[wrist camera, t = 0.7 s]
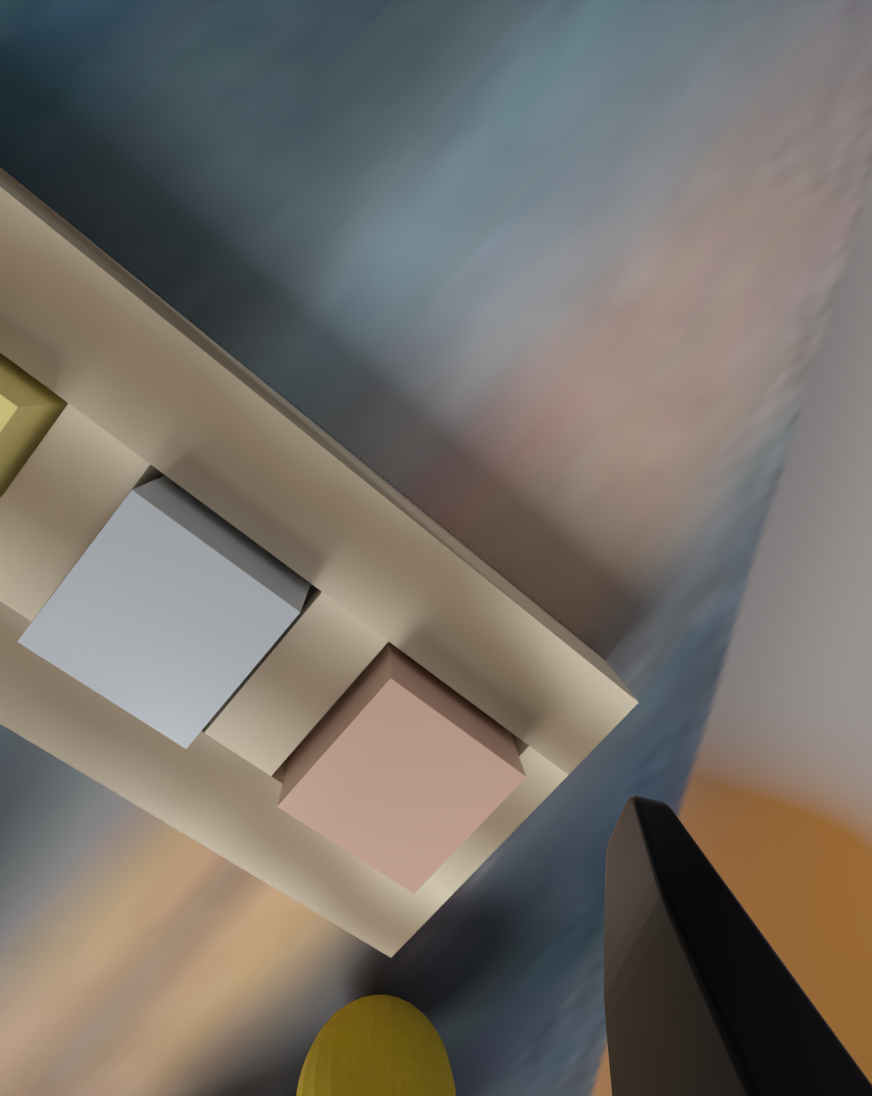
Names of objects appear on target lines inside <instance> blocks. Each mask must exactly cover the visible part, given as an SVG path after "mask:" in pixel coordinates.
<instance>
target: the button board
mask: <svg viewBox="0 0 872 1096" xmlns="http://www.w3.org/2000/svg"><path fill="white" fill-rule="evenodd" d="M0 353H2V354H3V355H4V356H6V357H7V358H8V359H10V360H11V361H12V362H14V363H15V364H16V365H18V366H19V367H20V368H22V369H23V370H24V371H26V372H27V373H28V374H30V375H31V376H32V377H34V378H35V379H37V380H38V381H39V382H41V383H42V384H43V385H45V386H46V387H47V388H49V389H50V390H51V391H53V392H54V393H55V394H57V395H58V396H59V397H61V398H62V399H63V400H65V401H66V402H67V403H68V405H67V406H66V408H65V409H64V410H63V412H62V413H61V415H60V416H59V417H58V419H57V420H56V421H55V423H54V424H53V426H52V427H51V428H50V430H49V431H48V433H47V434H46V435H45V437H44V438H43V440H42V441H41V442H40V444H39V445H38V447H37V448H36V449H35V451H34V452H33V454H32V455H31V456H30V458H29V459H28V461H27V462H26V463H25V465H24V466H23V468H22V469H21V470H20V472H19V473H18V475H17V476H16V477H15V479H14V480H13V481H12V483H11V484H10V486H9V487H8V488H7V490H6V491H5V493H4V494H3V495H2V497H1V498H0V724H1V725H3V726H5V727H6V728H8V729H10V730H11V731H13V732H15V733H16V734H18V735H20V736H21V737H23V738H25V739H26V740H28V741H30V742H31V743H33V744H35V745H36V746H38V747H40V748H41V749H43V750H45V751H46V752H48V753H50V754H51V755H53V756H55V757H56V758H58V759H60V760H61V761H63V762H65V763H66V764H68V765H70V766H71V767H73V768H75V769H76V770H78V771H80V772H81V773H83V774H85V775H86V776H88V777H90V778H91V779H93V780H95V781H97V782H98V783H100V784H102V785H103V786H105V787H107V788H108V789H110V790H112V791H113V792H115V793H117V794H118V795H120V796H122V797H123V798H125V799H127V800H128V801H130V802H132V803H133V804H135V805H137V806H138V807H140V808H142V809H143V810H145V811H147V812H148V813H150V814H152V815H153V816H155V817H157V818H158V819H160V820H162V821H163V822H165V823H167V824H168V825H170V826H172V827H173V828H175V829H177V830H178V831H180V832H182V833H183V834H185V835H187V836H188V837H190V838H192V839H193V840H195V841H197V842H198V843H200V844H202V845H203V846H205V847H207V848H208V849H210V850H212V851H213V852H215V853H217V854H218V855H220V856H222V857H223V858H225V859H227V860H228V861H230V862H232V863H233V864H235V865H237V866H239V867H240V868H242V869H244V870H245V871H247V872H249V873H250V874H252V875H254V876H255V877H257V878H259V879H260V880H262V881H264V882H265V883H267V884H269V885H270V886H272V887H274V888H275V889H277V890H279V891H280V892H282V893H284V894H285V895H287V896H289V897H290V898H292V899H294V900H295V901H297V902H299V903H300V904H302V905H304V906H305V907H307V908H309V909H310V910H312V911H314V912H315V913H317V914H319V915H320V916H322V917H324V918H325V919H327V920H329V921H330V922H332V923H334V924H335V925H337V926H339V927H340V928H342V929H344V930H345V931H347V932H349V933H350V934H352V935H354V936H355V937H357V938H359V939H360V940H362V941H364V942H365V943H367V944H369V945H370V946H372V947H374V948H375V949H377V950H379V951H380V952H382V953H384V954H386V955H387V956H389V957H392V956H393V955H394V954H395V953H396V952H397V951H398V950H399V949H400V948H401V947H402V946H403V945H404V944H405V943H406V942H407V941H408V940H409V939H410V938H411V937H412V936H413V935H414V934H415V933H416V932H417V931H418V930H419V929H420V927H421V926H422V925H423V924H424V923H425V922H426V921H427V920H428V919H429V918H430V917H431V916H432V915H433V914H434V913H435V912H436V911H437V910H438V909H439V908H440V907H441V906H442V905H443V904H444V903H445V902H446V901H447V900H448V899H449V898H450V897H451V896H452V894H453V893H454V892H455V891H456V890H457V889H458V888H459V887H460V886H461V885H462V884H463V883H464V882H465V881H466V880H467V879H468V878H469V877H470V876H471V875H472V874H473V873H474V872H475V871H476V870H477V869H478V868H479V867H480V866H481V865H482V864H483V862H484V861H485V860H486V859H487V858H488V857H489V856H490V855H491V854H492V853H493V852H494V851H495V850H496V849H497V848H498V847H499V846H500V845H501V844H502V843H503V842H504V841H505V840H506V839H507V838H508V837H509V836H510V835H511V834H512V833H513V832H514V831H515V829H516V828H517V827H518V826H519V825H520V824H521V823H522V822H523V821H524V820H525V819H526V818H527V817H528V816H529V815H530V814H531V813H532V812H533V811H534V810H535V809H536V808H537V807H538V806H539V805H540V804H541V803H542V802H543V801H544V800H545V799H546V797H547V796H548V795H549V794H550V793H551V792H552V791H553V790H554V789H555V788H556V787H557V786H558V785H559V784H560V783H561V782H562V781H563V780H564V779H565V778H566V777H567V776H568V775H569V774H570V773H571V772H572V771H573V770H574V769H575V768H576V767H577V765H578V764H579V763H580V762H581V761H582V760H583V759H584V758H585V757H586V756H587V755H588V754H589V753H590V752H591V751H592V750H593V749H594V748H595V747H596V746H597V745H598V744H599V743H600V742H601V741H602V740H603V739H604V738H605V737H606V736H607V735H608V734H609V732H610V731H611V730H612V729H613V728H614V727H615V726H616V725H617V724H618V723H619V722H620V721H621V720H622V719H623V718H624V717H625V716H626V715H627V714H628V713H629V712H630V711H631V710H632V709H633V708H634V707H635V706H636V705H637V704H638V703H639V702H638V701H637V700H636V698H635V697H634V696H633V695H632V693H631V692H630V691H629V690H628V688H627V687H626V686H625V685H624V683H623V682H622V681H621V680H620V678H619V677H618V676H617V674H616V673H615V672H614V671H613V669H612V668H611V667H610V666H609V664H608V663H607V662H606V661H605V660H604V659H603V658H602V657H600V656H599V655H598V654H597V653H596V652H594V651H593V650H592V649H591V648H589V647H588V646H587V645H586V644H584V643H583V642H582V641H581V640H580V639H578V638H577V637H576V636H575V635H573V634H572V633H571V632H570V631H569V630H567V629H566V628H565V627H564V626H562V625H561V624H560V623H559V622H558V621H556V620H555V619H554V618H553V617H551V616H550V615H549V614H548V613H546V612H545V611H544V610H543V609H542V608H540V607H539V606H538V605H537V604H535V603H534V602H533V601H532V600H531V599H529V598H528V597H527V596H526V595H524V594H523V593H522V592H521V591H520V590H518V589H517V588H516V587H515V586H513V585H512V584H511V583H510V582H508V581H507V580H506V579H505V578H504V577H502V576H501V575H500V574H499V573H497V572H496V571H495V570H494V569H493V568H491V567H490V566H489V565H488V564H486V563H485V562H484V561H483V560H482V559H480V558H479V557H478V556H477V555H475V554H474V553H473V552H472V551H470V550H469V549H468V548H467V547H466V546H464V545H463V544H462V543H461V542H459V541H458V540H457V539H456V538H455V537H453V536H452V535H451V534H450V533H448V532H447V531H446V530H445V529H444V528H442V527H441V526H440V525H439V524H437V523H436V522H435V521H434V520H432V519H431V518H430V517H429V516H428V515H426V514H425V513H424V512H423V511H421V510H420V509H419V508H418V507H417V506H415V505H414V504H413V503H412V502H410V501H409V500H408V499H407V498H406V497H404V496H403V495H402V494H401V493H399V492H398V491H397V490H396V489H394V488H393V487H392V486H391V485H390V484H388V483H387V482H386V481H385V480H383V479H382V478H381V477H380V476H379V475H377V474H376V473H375V472H374V471H372V470H371V469H370V468H369V467H368V466H366V465H365V464H364V463H363V462H361V461H360V460H359V459H358V458H356V457H355V456H354V455H353V454H352V453H350V452H349V451H348V450H347V449H345V448H344V447H343V446H342V445H341V444H339V443H338V442H337V441H336V440H334V439H333V438H332V437H331V436H330V435H328V434H327V433H326V432H325V431H323V430H322V429H321V428H320V427H318V426H317V425H316V424H315V423H314V422H312V421H311V420H310V419H309V418H307V417H306V416H305V415H304V414H303V413H301V412H300V411H299V410H298V409H296V408H295V407H294V406H293V405H291V404H290V403H289V402H288V401H287V400H285V399H284V398H283V397H282V396H280V395H279V394H278V393H277V392H276V391H274V390H273V389H272V388H271V387H269V386H268V385H267V384H266V383H265V382H263V381H262V380H261V379H260V378H258V377H257V376H256V375H255V374H253V373H252V372H251V371H250V370H249V369H247V368H246V367H245V366H244V365H242V364H241V363H240V362H239V361H238V360H236V359H235V358H234V357H233V356H231V355H230V354H229V353H228V352H227V351H225V350H224V349H223V348H222V347H220V346H219V345H218V344H217V343H215V342H214V341H213V340H212V339H211V338H209V337H208V336H207V335H206V334H204V333H203V332H202V331H201V330H200V329H198V328H197V327H196V326H195V325H193V324H192V323H191V322H190V321H189V320H187V319H186V318H185V317H184V316H182V315H181V314H180V313H179V312H177V311H176V310H175V309H174V308H173V307H171V306H170V305H169V304H168V303H166V302H165V301H164V300H163V299H162V298H160V297H159V296H158V295H157V294H155V293H154V292H153V291H152V290H151V289H149V288H148V287H147V286H146V285H144V284H143V283H142V282H141V281H139V280H138V279H137V278H136V277H135V276H133V275H132V274H131V273H130V272H128V271H127V270H126V269H125V268H124V267H122V266H121V265H120V264H119V263H117V262H116V261H115V260H114V259H113V258H111V257H110V256H109V255H108V254H106V253H105V252H104V251H103V250H101V249H100V248H99V247H98V246H97V245H95V244H94V243H93V242H92V241H90V240H89V239H88V238H87V237H86V236H84V235H83V234H82V233H81V232H79V231H78V230H77V229H76V228H75V227H73V226H72V225H71V224H70V223H68V222H67V221H66V220H65V219H63V218H62V217H61V216H60V215H59V214H57V213H56V212H55V211H54V210H52V209H51V208H50V207H49V206H48V205H46V204H45V203H44V202H43V201H41V200H40V199H39V198H38V197H37V196H35V195H34V194H33V193H32V192H30V191H29V190H28V189H27V188H25V187H24V186H23V185H22V184H21V183H19V182H18V181H17V180H16V179H14V178H13V177H12V176H11V175H10V174H8V173H7V172H6V171H5V170H3V169H2V168H1V167H0ZM165 475H166V476H167V477H168V478H170V479H171V480H172V481H174V482H175V483H176V484H178V485H179V486H180V487H182V488H183V489H184V490H186V491H187V492H189V493H190V494H191V495H193V496H194V497H195V498H197V499H198V500H199V501H201V502H202V503H203V504H205V505H206V506H207V507H209V508H210V509H211V510H213V511H214V512H215V513H217V514H218V515H219V516H221V517H222V518H224V519H225V520H226V521H228V522H229V523H230V524H232V525H233V526H234V527H236V528H237V529H238V530H240V531H241V532H242V533H244V534H245V535H246V536H248V537H249V538H250V539H252V540H253V541H254V542H256V543H257V544H258V545H260V546H261V547H263V548H264V549H265V550H267V551H268V552H269V553H271V554H272V555H273V556H275V557H276V558H277V559H279V560H280V561H281V562H283V563H284V564H285V565H287V566H288V567H289V568H291V569H292V570H293V571H295V572H296V573H297V574H299V575H300V576H302V577H303V578H304V579H306V580H307V581H308V582H310V583H311V584H312V586H311V587H310V588H309V590H308V592H307V595H306V598H305V601H304V604H303V606H302V609H301V612H300V613H299V615H298V616H297V617H296V618H295V619H294V621H293V622H292V623H291V624H290V625H289V627H288V628H287V629H286V630H285V631H284V633H283V634H282V635H281V636H280V637H279V639H278V640H277V641H276V642H275V643H274V645H273V646H272V647H271V648H270V649H269V651H268V652H267V653H266V654H265V655H264V656H263V658H262V659H261V660H260V661H259V662H258V664H257V665H256V666H255V667H254V668H253V670H252V671H251V672H250V673H249V674H248V676H247V677H246V678H245V679H244V680H243V682H242V683H241V684H240V685H239V686H238V688H237V689H236V690H235V691H234V692H233V694H232V695H231V696H230V697H229V698H228V700H227V701H226V702H225V703H224V704H223V706H222V707H221V708H220V709H219V710H218V712H217V713H216V714H215V715H214V716H213V717H212V719H211V720H210V721H209V722H208V723H207V725H206V726H205V727H204V728H203V729H202V731H201V732H200V733H199V734H198V735H197V737H196V738H195V739H194V740H193V741H192V743H191V744H190V745H189V746H188V747H187V749H185V748H184V747H182V746H181V745H179V744H177V743H176V742H174V741H173V740H171V739H169V738H168V737H166V736H165V735H163V734H162V733H160V732H158V731H157V730H155V729H154V728H152V727H151V726H149V725H147V724H146V723H144V722H143V721H141V720H140V719H138V718H136V717H135V716H133V715H132V714H130V713H129V712H127V711H125V710H124V709H122V708H121V707H119V706H117V705H116V704H114V703H113V702H111V701H110V700H108V699H106V698H105V697H103V696H102V695H100V694H99V693H97V692H95V691H94V690H92V689H91V688H89V687H88V686H86V685H84V684H83V683H81V682H80V681H78V680H77V679H75V678H73V677H72V676H70V675H69V674H67V673H66V672H64V671H62V670H61V669H59V668H58V667H56V666H54V665H53V664H51V663H50V662H48V661H47V660H45V659H43V658H42V657H40V656H39V655H37V654H36V653H34V652H32V651H31V650H29V649H28V648H26V647H25V646H23V645H21V644H20V643H18V642H17V641H18V640H19V639H20V637H21V636H22V635H23V633H24V632H25V631H26V629H27V628H28V627H29V625H30V624H31V623H32V621H33V620H34V619H35V618H36V616H37V615H38V614H39V612H40V611H41V610H42V608H43V607H44V606H45V604H46V603H47V602H48V600H49V599H50V598H51V596H52V595H53V594H54V592H55V591H56V590H57V588H58V587H59V586H60V584H61V583H62V582H63V580H64V579H65V578H66V576H67V575H68V574H69V572H70V571H71V570H72V568H73V567H74V566H75V564H76V563H77V562H78V561H79V559H80V558H81V557H82V555H83V554H84V553H85V551H86V550H87V549H88V547H89V546H90V545H91V543H92V542H93V541H94V539H95V538H96V537H97V535H98V534H99V533H100V531H101V530H102V529H103V527H104V526H105V525H106V523H107V522H108V521H109V519H110V518H111V517H112V515H113V514H114V513H115V511H116V510H117V509H118V507H119V506H120V505H121V504H122V502H123V501H124V500H125V498H126V497H127V496H128V494H129V493H130V492H131V490H133V489H135V488H137V487H140V486H142V485H144V484H146V483H149V482H151V481H153V480H156V479H158V478H160V477H163V476H165ZM388 641H389V642H390V643H392V644H393V645H394V646H396V647H397V648H398V649H400V650H401V651H402V652H404V653H405V654H406V655H408V656H409V657H410V658H412V659H413V660H415V661H416V662H417V663H419V664H420V665H421V666H423V667H424V668H425V669H427V670H428V671H429V672H431V673H432V674H433V675H435V676H436V677H437V678H439V679H440V680H441V681H443V682H444V683H445V684H447V685H448V686H449V687H451V688H452V689H454V690H455V691H456V692H458V693H459V694H460V695H462V696H463V697H464V698H466V699H467V700H468V701H470V702H471V703H472V704H474V705H475V706H476V707H478V708H479V709H480V710H482V711H483V712H484V713H486V714H487V715H489V716H490V717H491V718H493V719H494V720H495V721H497V722H498V723H499V724H501V725H502V726H503V727H505V728H506V729H507V730H509V731H510V733H511V736H512V738H513V741H514V744H515V747H516V750H517V752H518V755H519V758H520V761H521V763H522V766H523V769H524V772H525V775H526V778H525V779H524V780H523V781H522V782H521V783H520V784H519V785H518V786H517V787H516V788H515V789H514V790H513V791H512V792H511V793H510V794H509V795H508V796H507V797H506V798H505V800H504V801H503V802H502V803H501V804H500V805H499V806H498V807H497V808H496V809H495V810H494V811H493V812H492V813H491V814H490V815H489V816H488V817H487V818H486V819H485V820H484V822H483V823H482V824H481V825H480V826H479V827H478V828H477V829H476V830H475V831H474V832H473V833H472V834H471V835H470V836H469V837H468V838H467V839H466V840H465V841H464V842H463V843H462V845H461V846H460V847H459V848H458V849H457V850H456V851H455V852H454V853H453V854H452V855H451V856H450V857H449V858H448V859H447V860H446V861H445V862H444V863H443V864H442V865H441V867H440V868H439V869H438V870H437V871H436V872H435V873H434V874H433V875H432V876H431V877H430V878H429V879H428V880H427V881H426V882H425V883H424V884H423V885H422V886H421V887H420V888H419V890H418V891H417V892H416V893H415V894H414V893H412V892H410V891H409V890H407V889H406V888H404V887H403V886H401V885H399V884H398V883H396V882H395V881H393V880H392V879H390V878H388V877H387V876H385V875H384V874H382V873H381V872H379V871H377V870H376V869H374V868H373V867H371V866H370V865H368V864H366V863H365V862H363V861H362V860H360V859H359V858H357V857H355V856H354V855H352V854H351V853H349V852H347V851H346V850H344V849H343V848H341V847H340V846H338V845H336V844H335V843H333V842H332V841H330V840H329V839H327V838H325V837H324V836H322V835H321V834H319V833H318V832H316V831H314V830H313V829H311V828H310V827H308V826H307V825H305V824H303V823H302V822H300V821H299V820H297V819H295V818H294V817H292V816H291V815H289V814H288V813H286V812H284V811H283V810H281V809H280V808H278V807H277V805H278V801H279V797H280V793H281V789H282V785H283V781H284V777H285V773H286V769H287V765H288V761H289V757H290V754H291V753H292V752H293V750H294V749H295V748H296V747H297V746H298V745H299V744H300V742H301V741H302V740H303V739H304V738H305V737H306V736H307V734H308V733H309V732H310V731H311V730H312V729H313V728H314V726H315V725H316V724H317V723H318V722H319V721H320V719H321V718H322V717H323V716H324V715H325V714H326V713H327V711H328V710H329V709H330V708H331V707H332V706H333V705H334V703H335V702H336V701H337V700H338V699H339V698H340V697H341V695H342V694H343V693H344V692H345V691H346V690H347V689H348V687H349V686H350V685H351V684H352V683H353V682H354V680H355V679H356V678H357V677H358V676H359V675H360V674H361V672H362V671H363V670H364V669H365V668H366V667H367V666H368V664H369V663H370V662H371V661H372V660H373V659H374V658H375V656H376V655H377V654H378V653H379V652H380V651H381V650H382V648H383V647H384V646H385V645H386V644H387V643H388Z"/></svg>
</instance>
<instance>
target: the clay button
mask: <svg viewBox="0 0 872 1096" xmlns="http://www.w3.org/2000/svg"><path fill="white" fill-rule="evenodd" d="M525 778H526V775H525V772H524V769H523V766H522V763H521V761H520V758H519V755H518V752H517V750H516V747H515V744H514V741H513V738H512V736H511V733H510V731H509V730H507V729H506V728H505V727H503V726H502V725H501V724H499V723H498V722H497V721H495V720H494V719H493V718H491V717H490V716H489V715H487V714H486V713H484V712H483V711H482V710H480V709H479V708H478V707H476V706H475V705H474V704H472V703H471V702H470V701H468V700H467V699H466V698H464V697H463V696H462V695H460V694H459V693H458V692H456V691H455V690H454V689H452V688H451V687H449V686H448V685H447V684H445V683H444V682H443V681H441V680H440V679H439V678H437V677H436V676H435V675H433V674H432V673H431V672H429V671H428V670H427V669H425V668H424V667H423V666H421V665H420V664H419V663H417V662H416V661H415V660H413V659H412V658H410V657H409V656H408V655H406V654H405V653H404V652H402V651H401V650H400V649H398V648H397V647H396V646H394V645H393V644H392V643H390V642H389V641H388V643H387V644H386V645H385V646H384V647H383V648H382V650H381V651H380V652H379V653H378V654H377V655H376V656H375V658H374V659H373V660H372V661H371V662H370V663H369V664H368V666H367V667H366V668H365V669H364V670H363V671H362V672H361V674H360V675H359V676H358V677H357V678H356V679H355V680H354V682H353V683H352V684H351V685H350V686H349V687H348V689H347V690H346V691H345V692H344V693H343V694H342V695H341V697H340V698H339V699H338V700H337V701H336V702H335V703H334V705H333V706H332V707H331V708H330V709H329V710H328V711H327V713H326V714H325V715H324V716H323V717H322V718H321V719H320V721H319V722H318V723H317V724H316V725H315V726H314V728H313V729H312V730H311V731H310V732H309V733H308V734H307V736H306V737H305V738H304V739H303V740H302V741H301V742H300V744H299V745H298V746H297V747H296V748H295V749H294V750H293V752H292V753H291V754H290V757H289V761H288V765H287V769H286V773H285V777H284V781H283V785H282V789H281V793H280V797H279V801H278V805H277V807H278V808H280V809H281V810H283V811H284V812H286V813H288V814H289V815H291V816H292V817H294V818H295V819H297V820H299V821H300V822H302V823H303V824H305V825H307V826H308V827H310V828H311V829H313V830H314V831H316V832H318V833H319V834H321V835H322V836H324V837H325V838H327V839H329V840H330V841H332V842H333V843H335V844H336V845H338V846H340V847H341V848H343V849H344V850H346V851H347V852H349V853H351V854H352V855H354V856H355V857H357V858H359V859H360V860H362V861H363V862H365V863H366V864H368V865H370V866H371V867H373V868H374V869H376V870H377V871H379V872H381V873H382V874H384V875H385V876H387V877H388V878H390V879H392V880H393V881H395V882H396V883H398V884H399V885H401V886H403V887H404V888H406V889H407V890H409V891H410V892H412V893H414V894H415V893H416V892H417V891H418V890H419V888H420V887H421V886H422V885H423V884H424V883H425V882H426V881H427V880H428V879H429V878H430V877H431V876H432V875H433V874H434V873H435V872H436V871H437V870H438V869H439V868H440V867H441V865H442V864H443V863H444V862H445V861H446V860H447V859H448V858H449V857H450V856H451V855H452V854H453V853H454V852H455V851H456V850H457V849H458V848H459V847H460V846H461V845H462V843H463V842H464V841H465V840H466V839H467V838H468V837H469V836H470V835H471V834H472V833H473V832H474V831H475V830H476V829H477V828H478V827H479V826H480V825H481V824H482V823H483V822H484V820H485V819H486V818H487V817H488V816H489V815H490V814H491V813H492V812H493V811H494V810H495V809H496V808H497V807H498V806H499V805H500V804H501V803H502V802H503V801H504V800H505V798H506V797H507V796H508V795H509V794H510V793H511V792H512V791H513V790H514V789H515V788H516V787H517V786H518V785H519V784H520V783H521V782H522V781H523V780H524V779H525Z"/></svg>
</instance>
